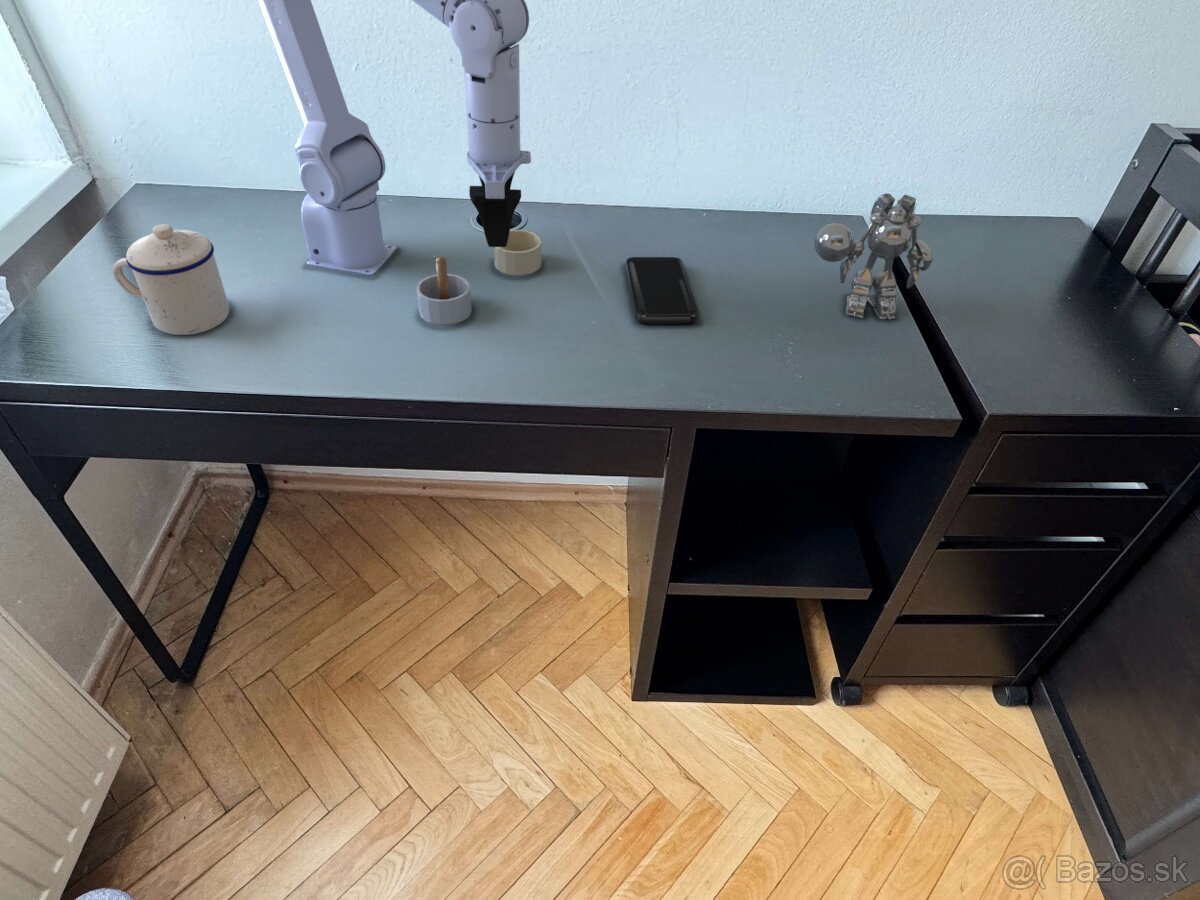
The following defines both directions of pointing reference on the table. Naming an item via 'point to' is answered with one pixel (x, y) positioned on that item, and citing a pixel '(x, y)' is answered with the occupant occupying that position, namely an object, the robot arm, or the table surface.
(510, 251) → the cream cup
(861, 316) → the robot toy
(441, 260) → the wooden wall peg
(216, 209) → the table surface
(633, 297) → the phone
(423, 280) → the grey cup
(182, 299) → the teacup with lid
